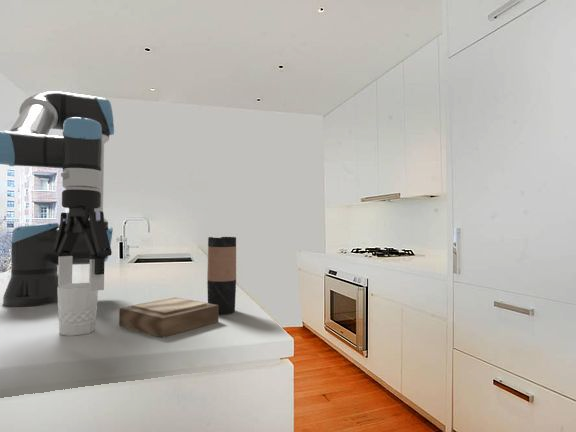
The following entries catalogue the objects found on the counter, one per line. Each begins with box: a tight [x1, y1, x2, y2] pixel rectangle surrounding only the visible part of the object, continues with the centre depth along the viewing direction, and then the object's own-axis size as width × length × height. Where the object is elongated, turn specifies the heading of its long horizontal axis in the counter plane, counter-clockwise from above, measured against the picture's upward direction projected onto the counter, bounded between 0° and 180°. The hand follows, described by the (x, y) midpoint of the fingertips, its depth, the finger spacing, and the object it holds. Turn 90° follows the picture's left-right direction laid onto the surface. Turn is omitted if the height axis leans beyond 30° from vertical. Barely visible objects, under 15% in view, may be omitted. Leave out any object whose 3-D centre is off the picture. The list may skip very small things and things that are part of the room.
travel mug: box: [206, 236, 237, 316], centre depth 104 cm, size 8×8×20 cm
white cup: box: [57, 282, 99, 337], centre depth 84 cm, size 8×8×10 cm
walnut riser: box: [118, 297, 220, 338], centre depth 91 cm, size 16×16×4 cm
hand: (80, 287), depth 83 cm, fingers open, 13 cm apart
